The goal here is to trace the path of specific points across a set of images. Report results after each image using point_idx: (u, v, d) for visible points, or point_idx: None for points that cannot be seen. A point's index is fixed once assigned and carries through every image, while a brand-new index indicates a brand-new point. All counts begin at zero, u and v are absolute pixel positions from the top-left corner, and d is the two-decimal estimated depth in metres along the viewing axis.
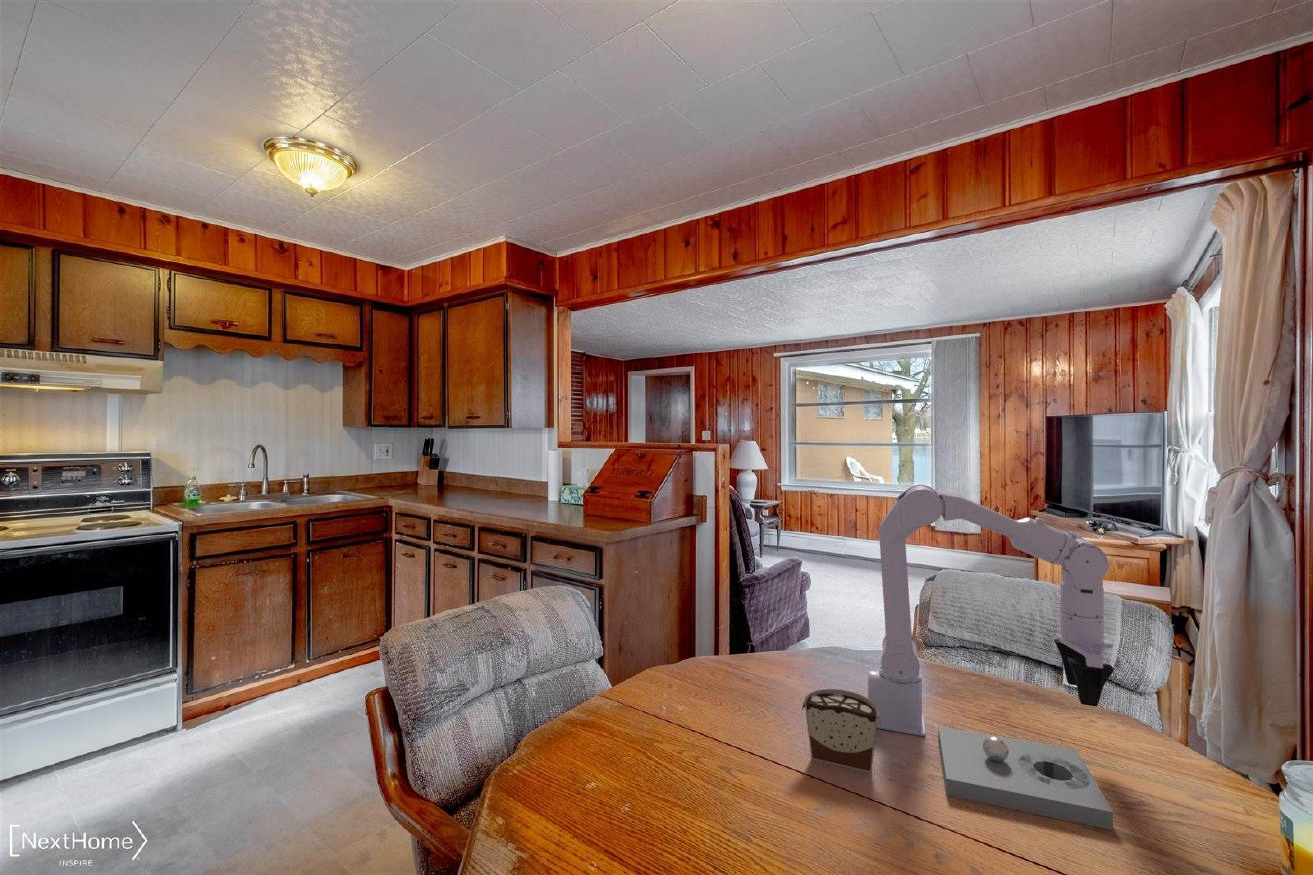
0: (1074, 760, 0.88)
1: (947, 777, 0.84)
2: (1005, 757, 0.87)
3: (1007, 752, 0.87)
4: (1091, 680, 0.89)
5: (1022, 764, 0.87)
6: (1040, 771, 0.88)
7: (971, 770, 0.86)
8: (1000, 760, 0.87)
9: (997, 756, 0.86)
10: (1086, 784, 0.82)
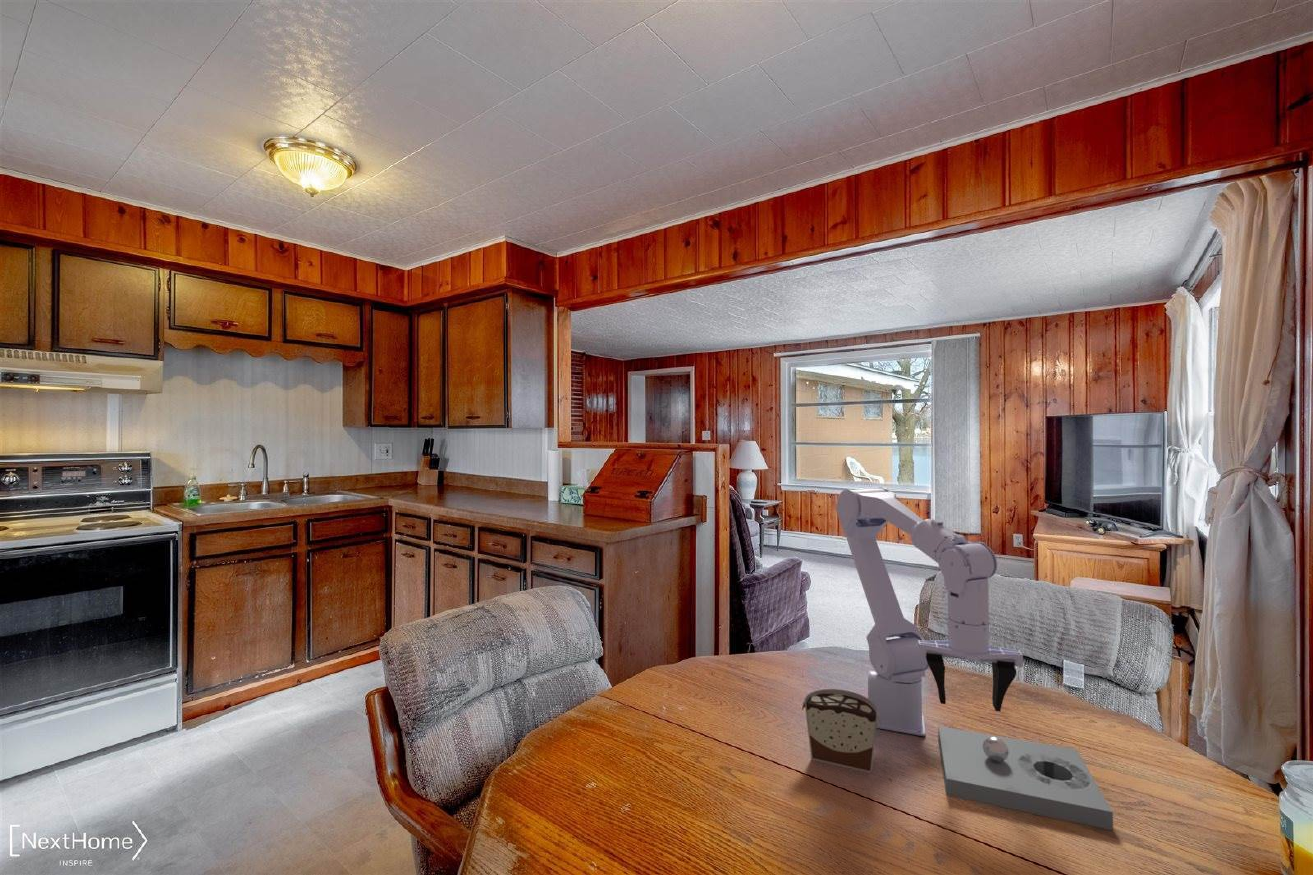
0: (1074, 760, 0.88)
1: (947, 777, 0.84)
2: (1005, 757, 0.87)
3: (1007, 752, 0.87)
4: None
5: (1022, 764, 0.87)
6: (1040, 771, 0.88)
7: (971, 770, 0.86)
8: (1000, 760, 0.87)
9: (997, 756, 0.86)
10: (1086, 784, 0.82)
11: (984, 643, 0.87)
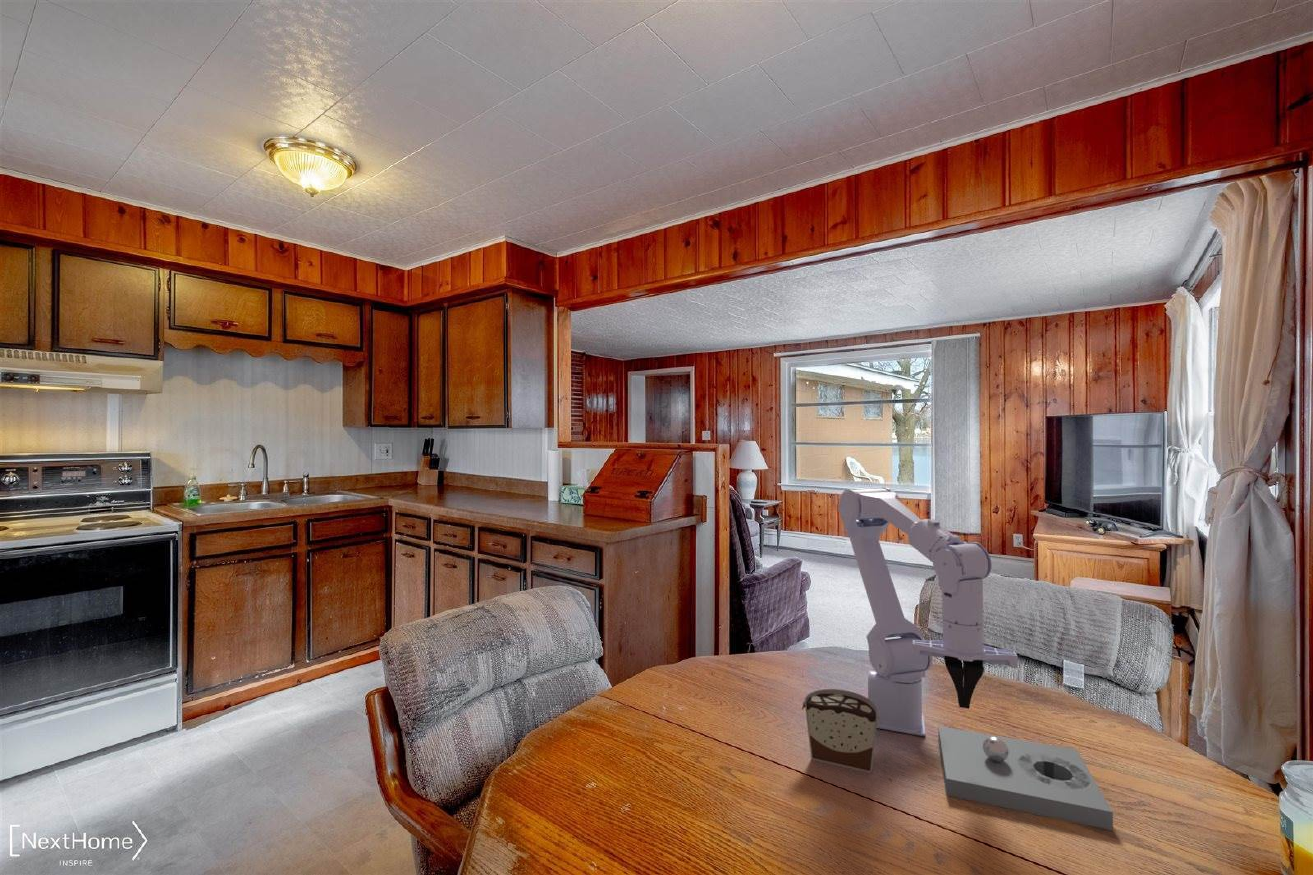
0: (1074, 760, 0.88)
1: (947, 777, 0.84)
2: (1005, 757, 0.87)
3: (1007, 752, 0.87)
4: None
5: (1022, 764, 0.87)
6: (1040, 771, 0.88)
7: (971, 770, 0.86)
8: (1000, 760, 0.87)
9: (997, 756, 0.86)
10: (1086, 784, 0.82)
11: (978, 644, 0.87)
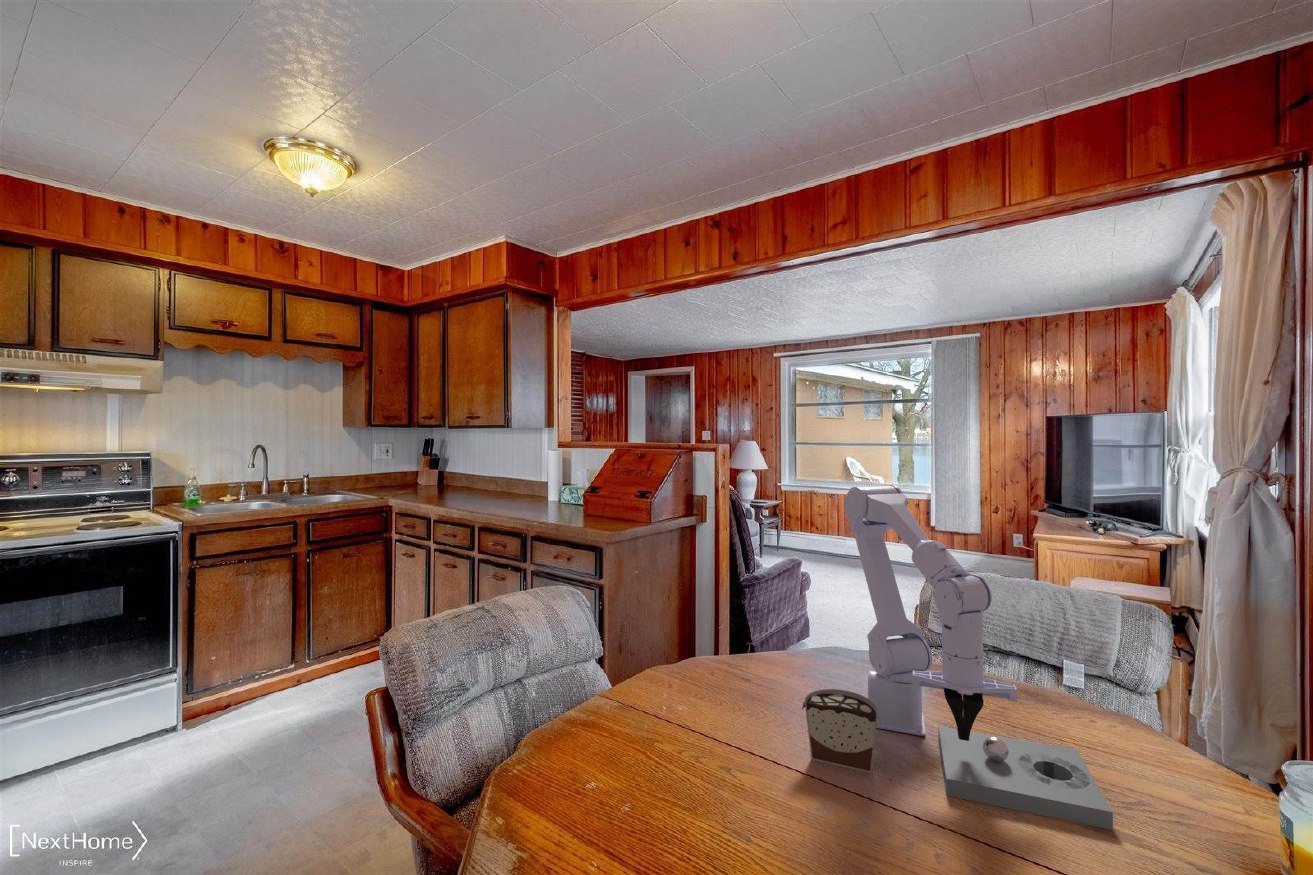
0: (1074, 760, 0.88)
1: (947, 777, 0.84)
2: (1005, 757, 0.87)
3: (1007, 752, 0.87)
4: None
5: (1022, 764, 0.87)
6: (1040, 771, 0.88)
7: (971, 770, 0.86)
8: (1000, 760, 0.87)
9: (997, 756, 0.86)
10: (1086, 784, 0.82)
11: (978, 677, 0.87)
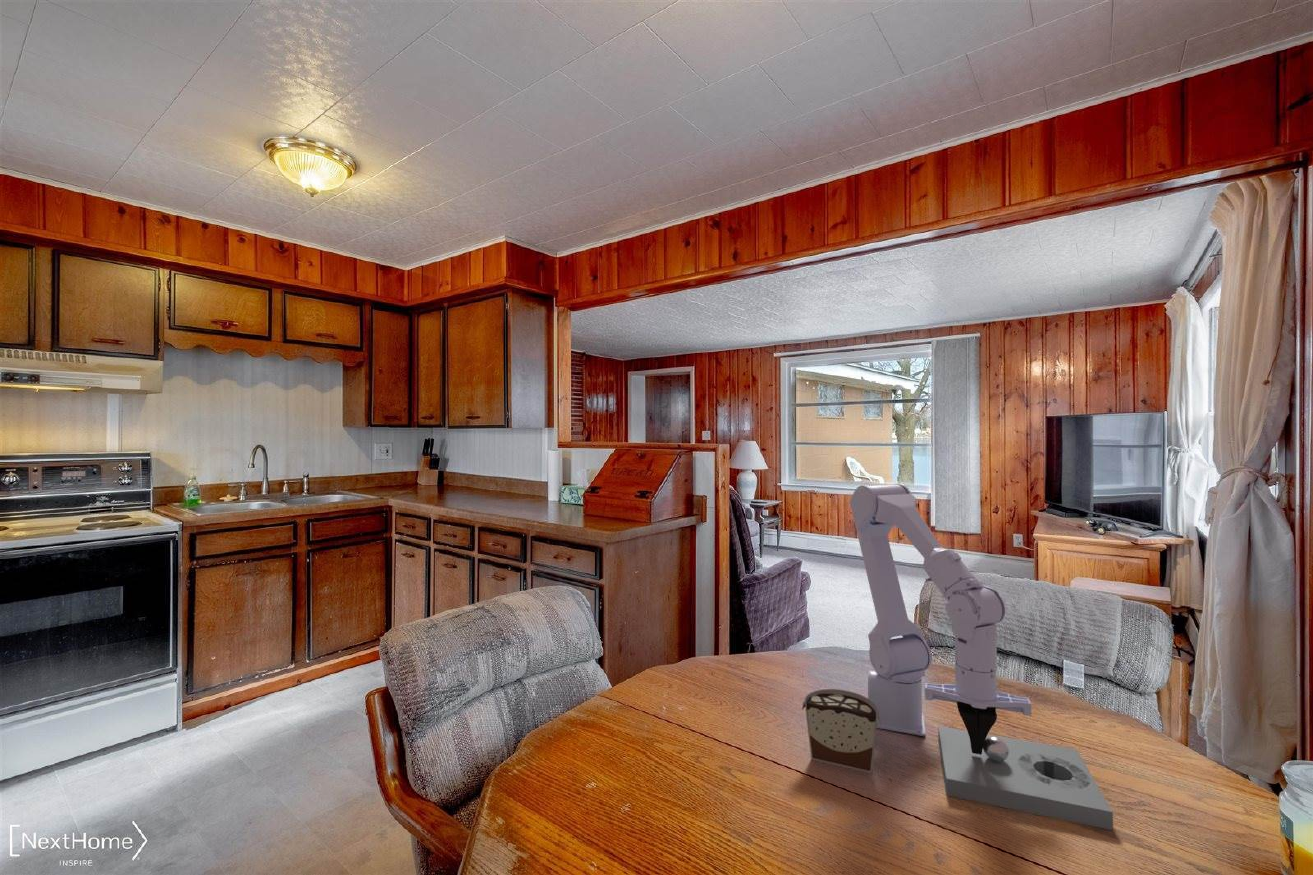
0: (1074, 760, 0.88)
1: (947, 777, 0.84)
2: (1005, 757, 0.87)
3: (1007, 752, 0.87)
4: None
5: (1022, 764, 0.87)
6: (1040, 771, 0.88)
7: (971, 770, 0.86)
8: (1000, 760, 0.87)
9: (997, 756, 0.86)
10: (1086, 784, 0.82)
11: (991, 691, 0.86)
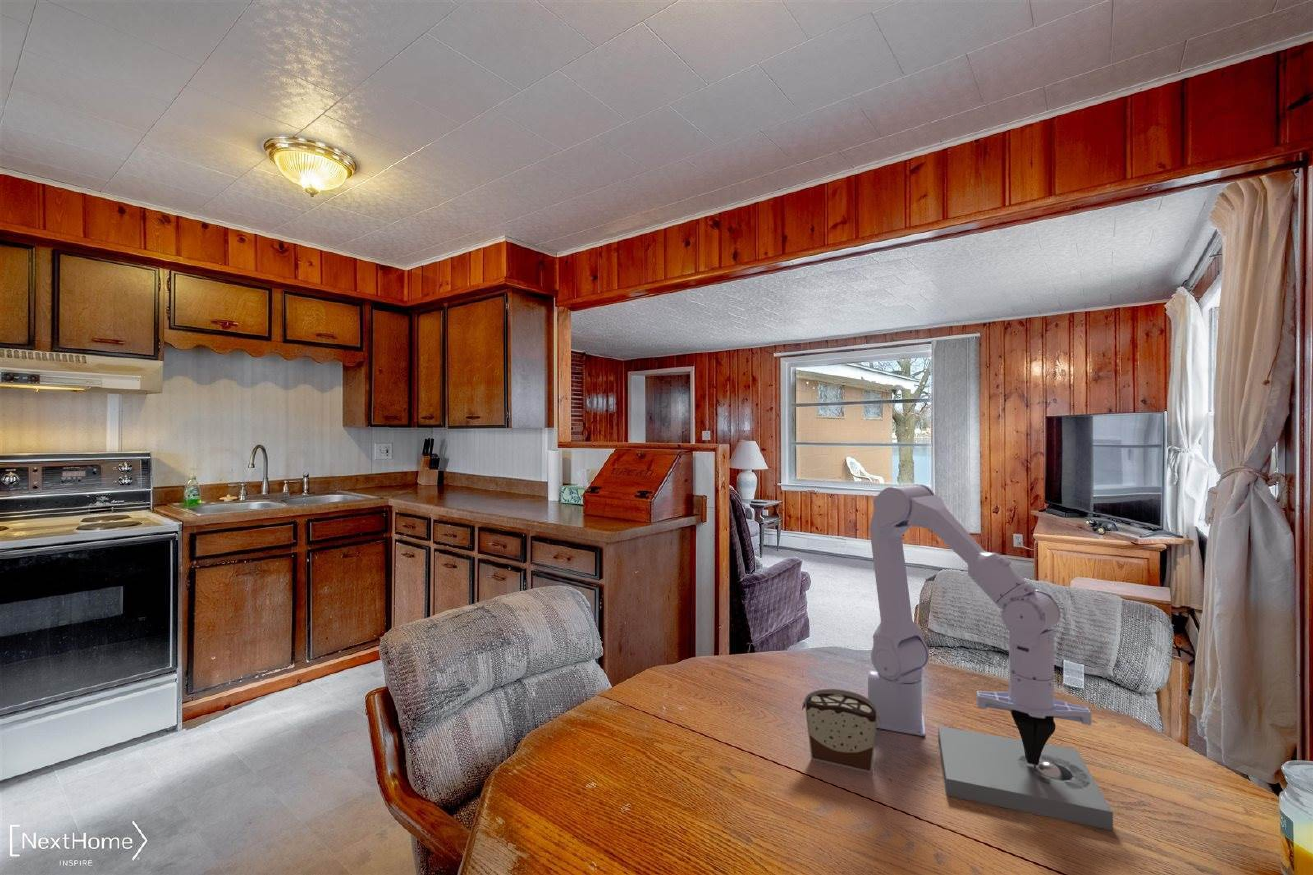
0: (1074, 760, 0.88)
1: (947, 777, 0.84)
2: None
3: None
4: None
5: (1022, 764, 0.87)
6: None
7: (971, 770, 0.86)
8: (1044, 771, 0.85)
9: None
10: (1086, 784, 0.82)
11: (1049, 699, 0.83)
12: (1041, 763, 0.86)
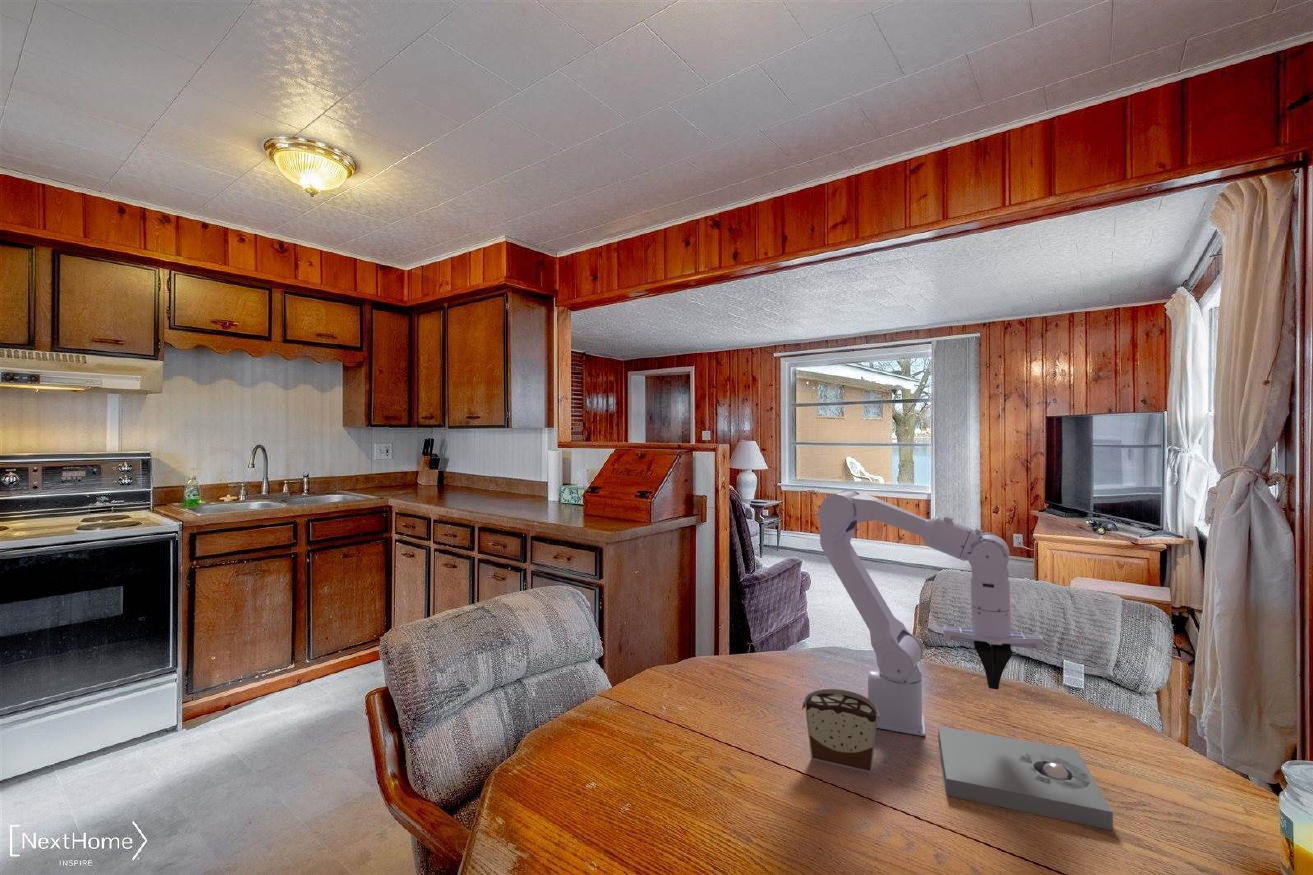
0: (1074, 760, 0.88)
1: (947, 777, 0.84)
2: (1048, 771, 0.85)
3: (1044, 772, 0.85)
4: None
5: (1022, 764, 0.87)
6: (1040, 771, 0.88)
7: (971, 770, 0.86)
8: (1055, 770, 0.84)
9: (1057, 778, 0.84)
10: (1086, 784, 0.82)
11: (1006, 628, 0.93)
12: (1054, 763, 0.85)
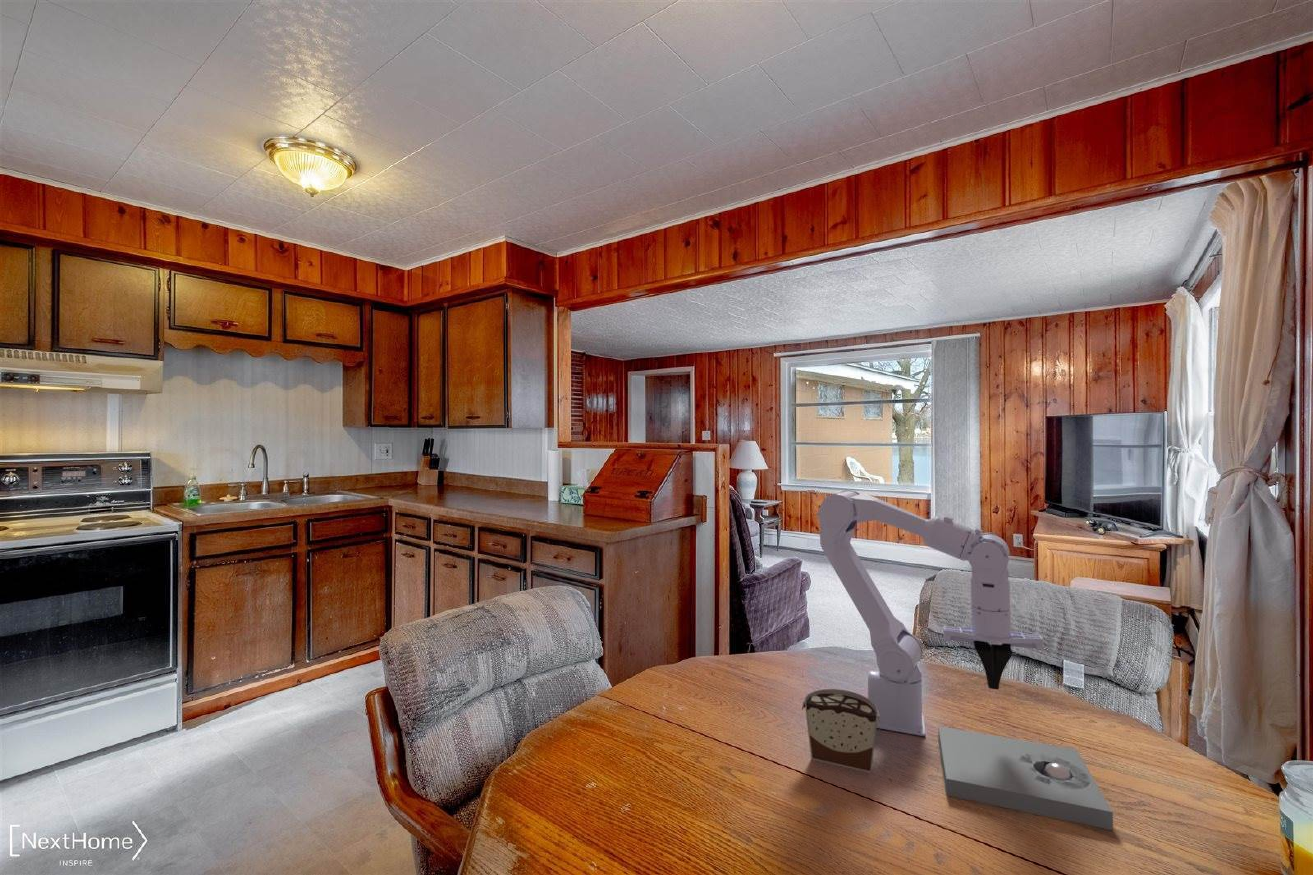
0: (1074, 760, 0.88)
1: (947, 777, 0.84)
2: (1052, 770, 0.85)
3: (1047, 771, 0.85)
4: None
5: (1022, 764, 0.87)
6: (1040, 771, 0.88)
7: (971, 770, 0.86)
8: (1059, 771, 0.84)
9: (1060, 778, 0.84)
10: (1086, 784, 0.82)
11: (1006, 628, 0.93)
12: (1059, 764, 0.85)
